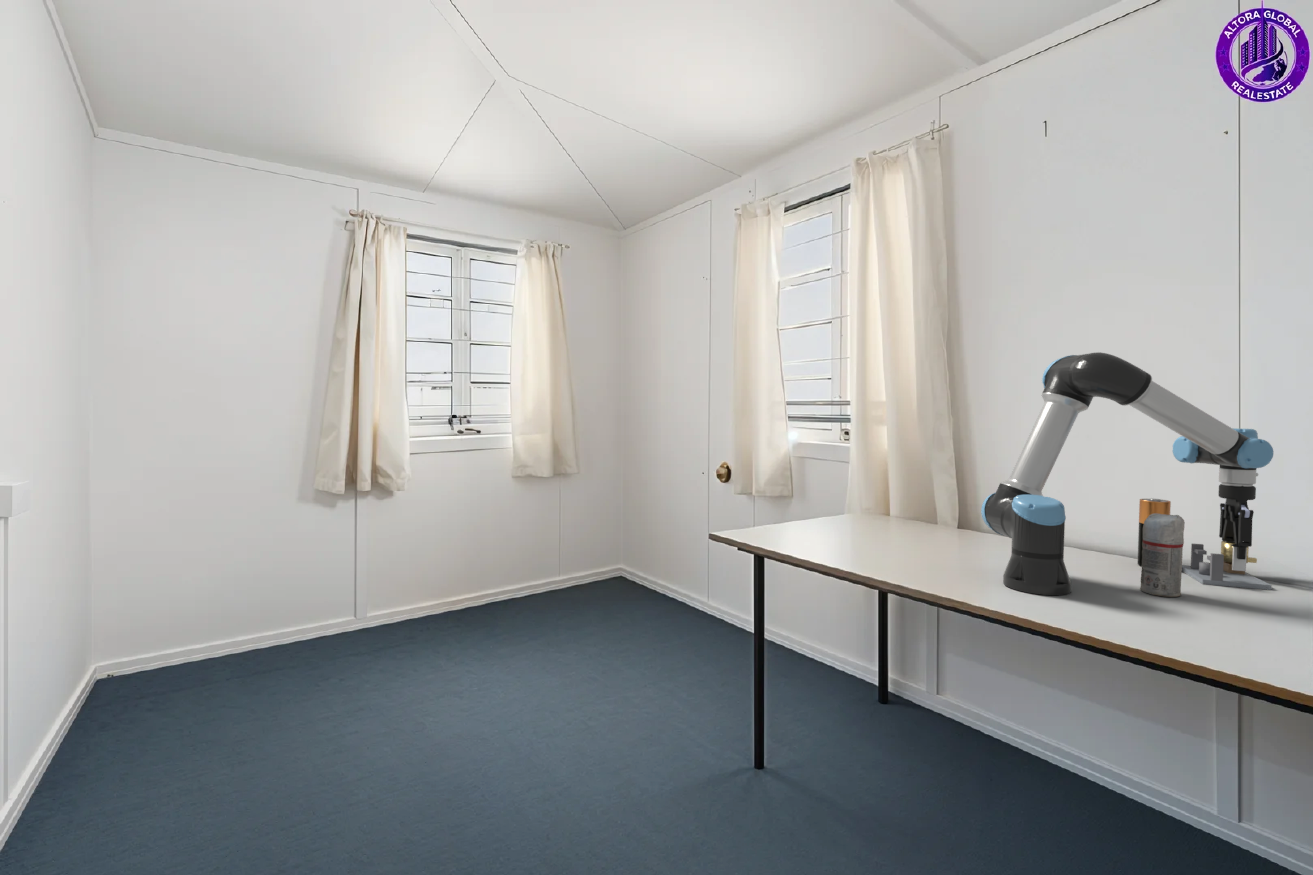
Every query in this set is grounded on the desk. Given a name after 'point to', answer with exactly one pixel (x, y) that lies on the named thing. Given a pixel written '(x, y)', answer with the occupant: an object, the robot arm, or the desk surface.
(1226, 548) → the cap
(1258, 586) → the base
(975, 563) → the desk surface
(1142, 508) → the battery
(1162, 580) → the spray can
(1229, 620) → the desk surface
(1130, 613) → the desk surface
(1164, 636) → the desk surface
